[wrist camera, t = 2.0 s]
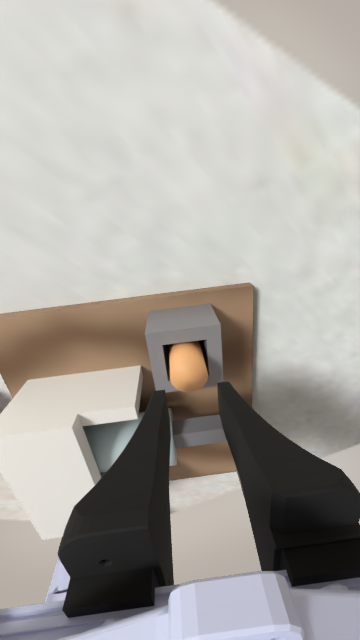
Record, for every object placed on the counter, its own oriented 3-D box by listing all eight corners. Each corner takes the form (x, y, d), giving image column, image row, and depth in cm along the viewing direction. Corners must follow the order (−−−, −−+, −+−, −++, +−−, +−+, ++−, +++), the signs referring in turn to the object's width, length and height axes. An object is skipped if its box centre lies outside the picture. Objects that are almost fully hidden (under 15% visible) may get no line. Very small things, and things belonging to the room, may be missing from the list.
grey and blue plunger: (236, 426, 25) (259, 495, 19) (71, 447, 25) (41, 525, 19) (235, 387, 23) (261, 450, 17) (56, 410, 23) (16, 483, 17)
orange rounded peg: (200, 356, 20) (209, 389, 16) (170, 360, 20) (172, 394, 16) (198, 329, 19) (206, 358, 15) (166, 333, 19) (167, 363, 15)
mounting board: (248, 461, 29) (251, 469, 28) (64, 486, 29) (61, 495, 28) (249, 282, 20) (253, 286, 19) (-18, 316, 20) (-26, 321, 19)
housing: (219, 449, 27) (234, 513, 21) (68, 469, 27) (42, 539, 21) (210, 303, 20) (228, 340, 14) (5, 329, 20) (-60, 377, 14)
